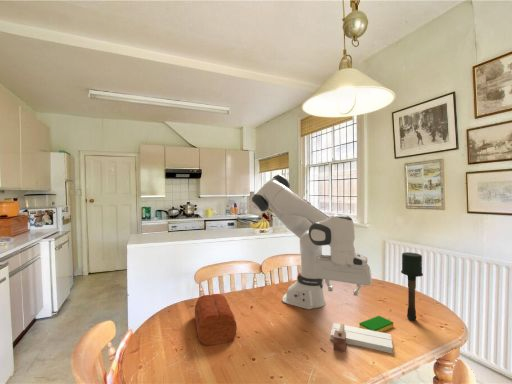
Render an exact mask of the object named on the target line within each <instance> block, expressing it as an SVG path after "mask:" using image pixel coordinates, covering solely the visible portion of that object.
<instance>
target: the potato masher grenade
mask: <svg viewBox="0 0 512 384" xmlns="http://www.w3.org/2000/svg"><path fill="white" fill-rule="evenodd" d="M400 273H401V274H403V275H405V276H407V288H408V292H407V293H408V294H407V295H408V298H407V300H408V301H407V302H408V305H407V306H408V307H407V311H406V318H407V319H408V321H411V322H412V321H413V322H414V321H416V320H417V310H416V287H417V285H416V284H417V283H416V282H417V277H419V278H420V277H423V276H424V274H423V256H422V254H419V253H415V252H407V251H406V252H402V254H401V271H400Z"/></svg>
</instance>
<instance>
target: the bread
mask: <svg viewBox="0 0 512 384" xmlns="http://www.w3.org/2000/svg"><path fill="white" fill-rule="evenodd" d="M194 319H195V324H196V333H197V337H198V340H199V341H200V342H201V344H202V345H203V346H213V345H219V344H226V343H227V344H228V343H230V342H232V341H234V340H235V338H236V337H237V330H238V328H237V327H238V326H237V322H236V319H235V315H234V314H233V310H232V309H231V306H230V304H229V303H228V299H227V298H226V297H225V295H223V294H220V293H212V294H203V295H201V296H199V297H198V299H197V300H196V303H195V305H194Z"/></svg>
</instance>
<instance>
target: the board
mask: <svg viewBox="0 0 512 384" xmlns="http://www.w3.org/2000/svg"><path fill="white" fill-rule="evenodd" d="M340 324H341V323H335V322H333V323H332V328H331V331H330V334H329V335H330V337H329V338H330V341H333V337H334V333H335V330H337V331H339V329H340ZM344 332H346V344H348V345H353V346H358V347H362V348H366V349H370V350H376V351H380V352H384V353H388V354H389V353H390V354H394V352H393V351H394V345H393V340H392V334H391V333H387V332H377V331H372V330H367V329H362V328H359V327H357V326H351V325H346V324H344Z"/></svg>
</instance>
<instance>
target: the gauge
mask: <svg viewBox="0 0 512 384" xmlns="http://www.w3.org/2000/svg"><path fill="white" fill-rule="evenodd" d="M339 324H340V329H339V331H337V330H335V333H334V337H333V340H332V341H333V345H332V346H333V347H332V348H333V351H335V352H339V351H340V353H344V352H346V347H347V343H346V332H344V325H345V324H343V323H339Z"/></svg>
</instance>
